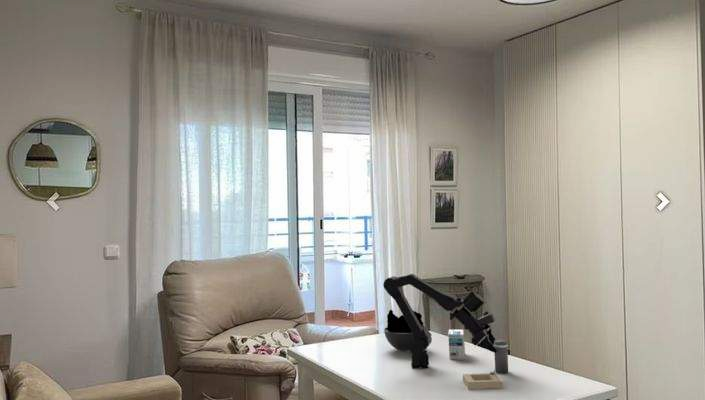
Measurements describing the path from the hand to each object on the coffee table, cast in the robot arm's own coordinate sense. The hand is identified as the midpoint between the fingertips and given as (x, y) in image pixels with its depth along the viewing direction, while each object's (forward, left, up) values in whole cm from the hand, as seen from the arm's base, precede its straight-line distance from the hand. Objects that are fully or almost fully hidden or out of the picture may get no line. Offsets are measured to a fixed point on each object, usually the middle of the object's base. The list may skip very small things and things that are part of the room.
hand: (497, 349), depth 218 cm
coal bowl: (-33, +37, -9) cm, 50 cm away
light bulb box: (-12, +25, -9) cm, 29 cm away
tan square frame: (-10, -15, -9) cm, 20 cm away
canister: (+1, 0, -9) cm, 9 cm away
